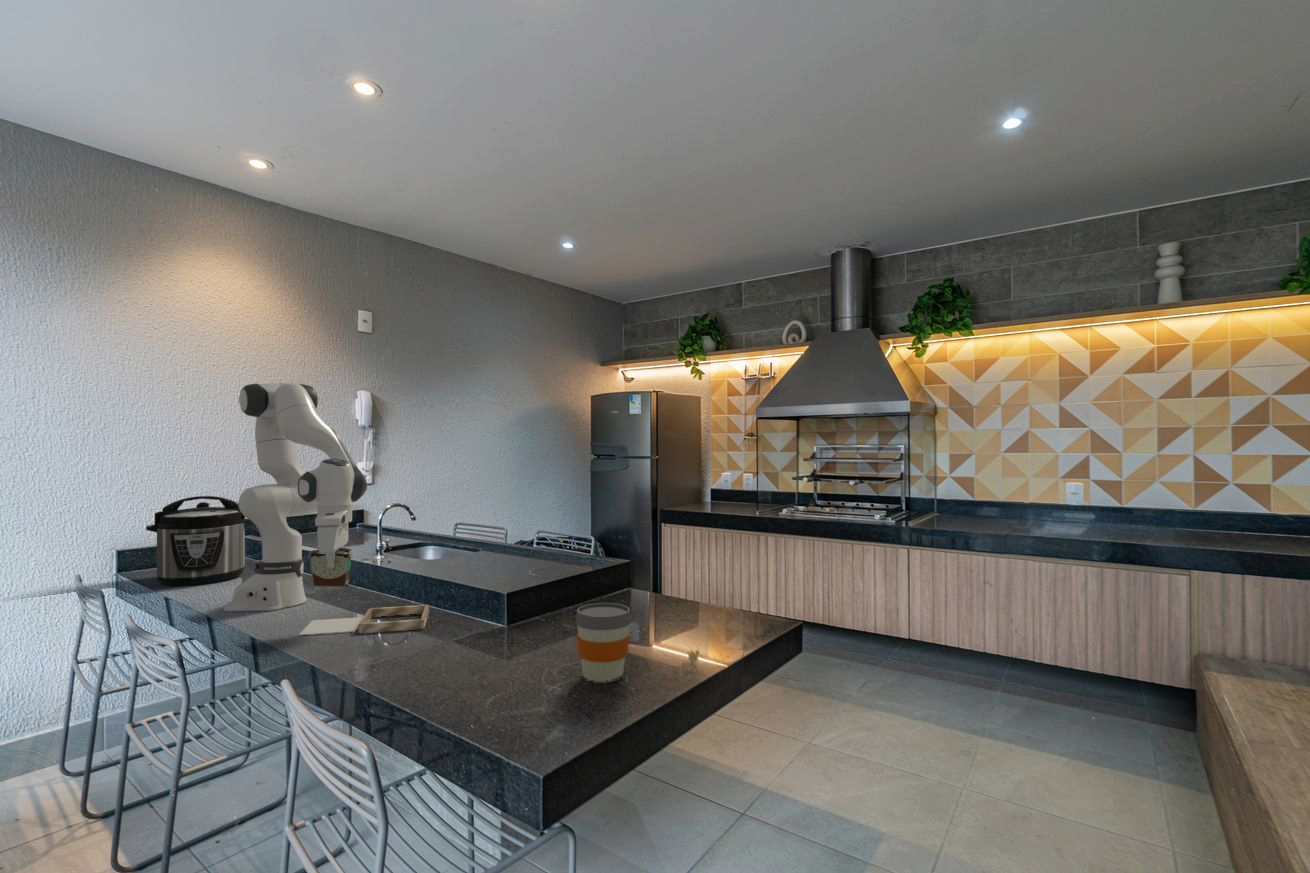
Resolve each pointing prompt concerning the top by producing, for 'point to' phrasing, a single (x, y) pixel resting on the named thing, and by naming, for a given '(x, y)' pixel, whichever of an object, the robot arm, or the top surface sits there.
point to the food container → (333, 575)
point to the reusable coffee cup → (603, 639)
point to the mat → (332, 626)
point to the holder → (393, 625)
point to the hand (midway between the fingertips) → (334, 564)
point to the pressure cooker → (199, 542)
